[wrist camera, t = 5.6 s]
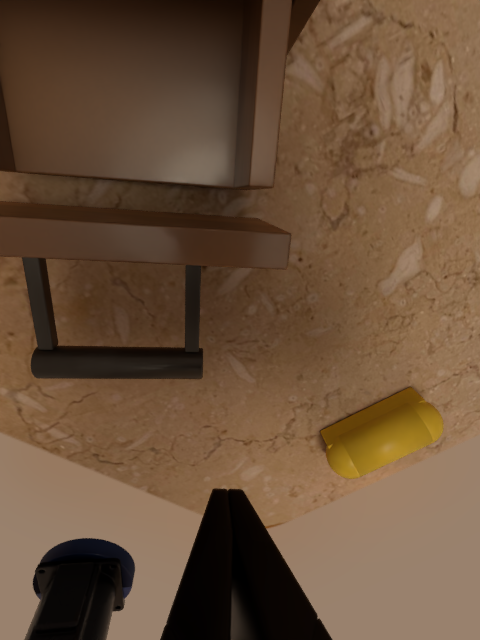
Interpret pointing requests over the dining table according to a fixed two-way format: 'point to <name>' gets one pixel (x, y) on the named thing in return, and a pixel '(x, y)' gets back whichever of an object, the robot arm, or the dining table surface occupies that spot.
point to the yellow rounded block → (381, 434)
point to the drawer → (139, 147)
